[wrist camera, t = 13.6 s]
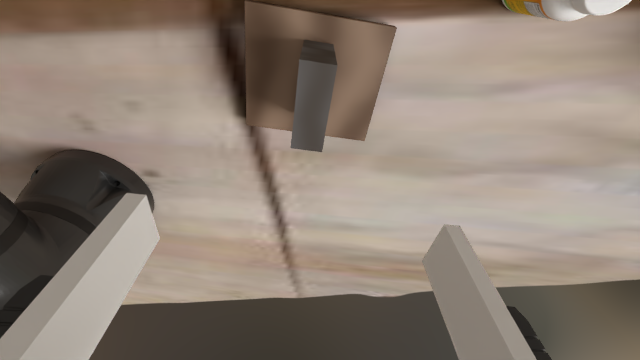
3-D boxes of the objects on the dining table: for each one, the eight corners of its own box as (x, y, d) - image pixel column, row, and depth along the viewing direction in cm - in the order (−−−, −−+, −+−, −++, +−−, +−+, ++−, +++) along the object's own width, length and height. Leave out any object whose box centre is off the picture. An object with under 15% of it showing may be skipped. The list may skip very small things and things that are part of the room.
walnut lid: (249, 118, 34) (228, 161, 26) (249, -1, 27) (218, 9, 19) (362, 133, 36) (374, 179, 28) (392, 24, 28) (420, 44, 20)
